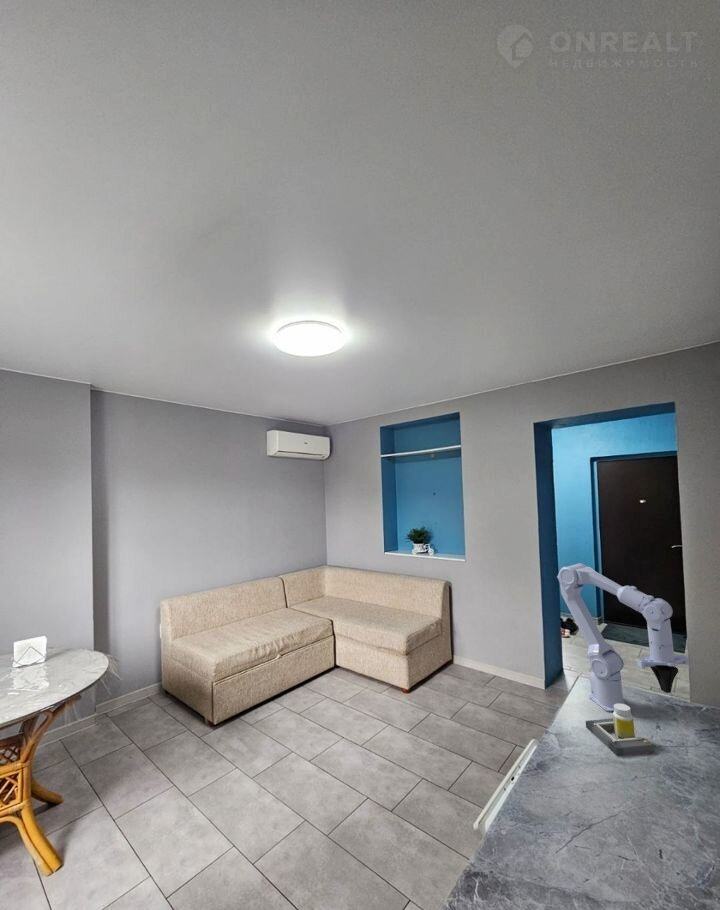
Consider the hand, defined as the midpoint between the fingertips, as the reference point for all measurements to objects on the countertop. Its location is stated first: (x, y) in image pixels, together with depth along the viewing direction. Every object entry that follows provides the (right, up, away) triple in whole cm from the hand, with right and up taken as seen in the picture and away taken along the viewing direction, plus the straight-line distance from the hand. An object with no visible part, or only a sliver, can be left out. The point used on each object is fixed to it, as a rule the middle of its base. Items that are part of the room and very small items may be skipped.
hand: (666, 691), depth 119 cm
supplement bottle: (-15, -10, -5) cm, 19 cm away
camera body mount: (-17, -10, -5) cm, 21 cm away
